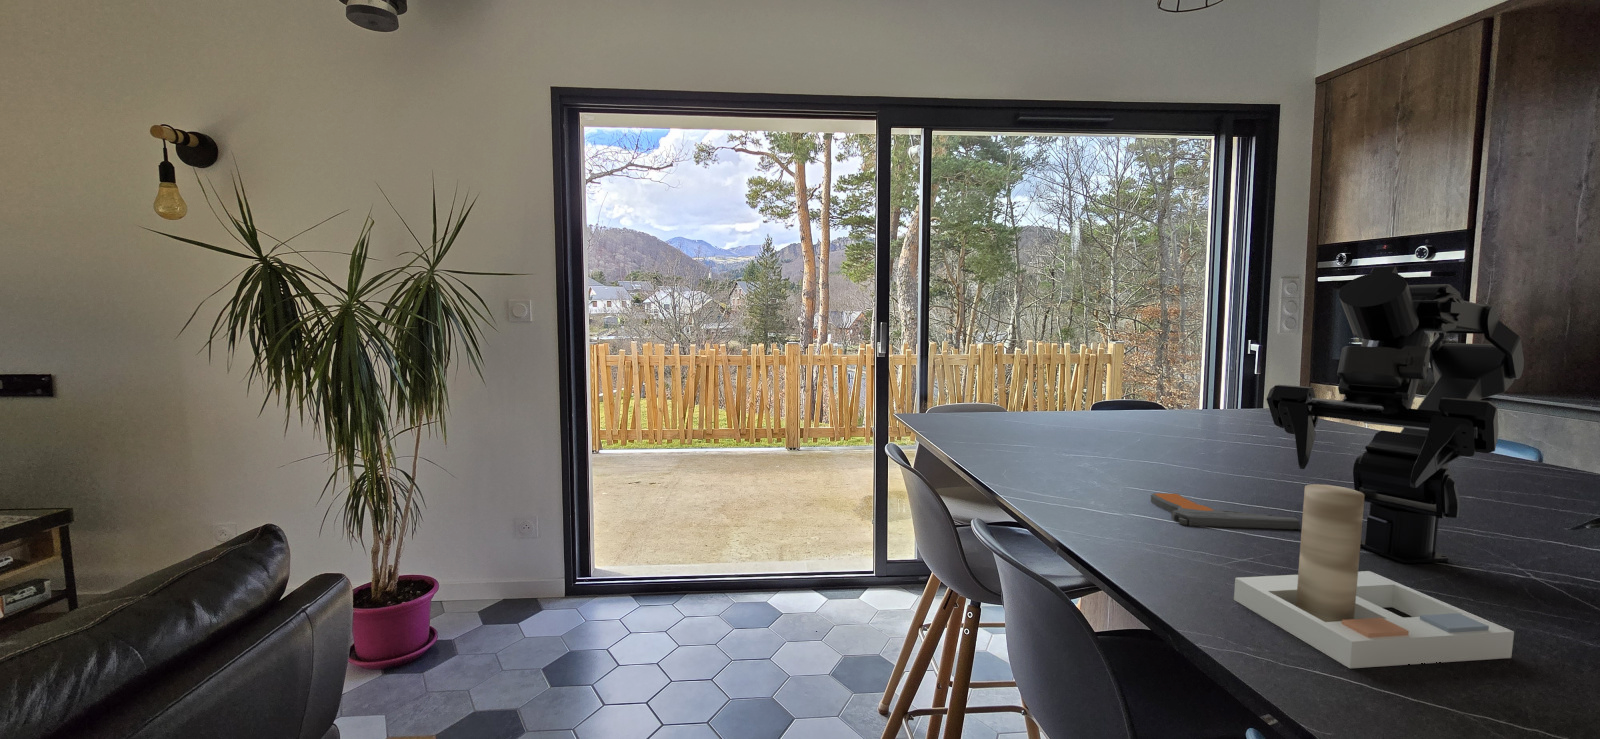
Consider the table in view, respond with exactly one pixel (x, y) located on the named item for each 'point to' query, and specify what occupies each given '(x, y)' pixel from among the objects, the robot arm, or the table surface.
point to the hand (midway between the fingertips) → (1353, 475)
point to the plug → (1330, 552)
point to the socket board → (1379, 624)
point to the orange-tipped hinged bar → (1217, 515)
